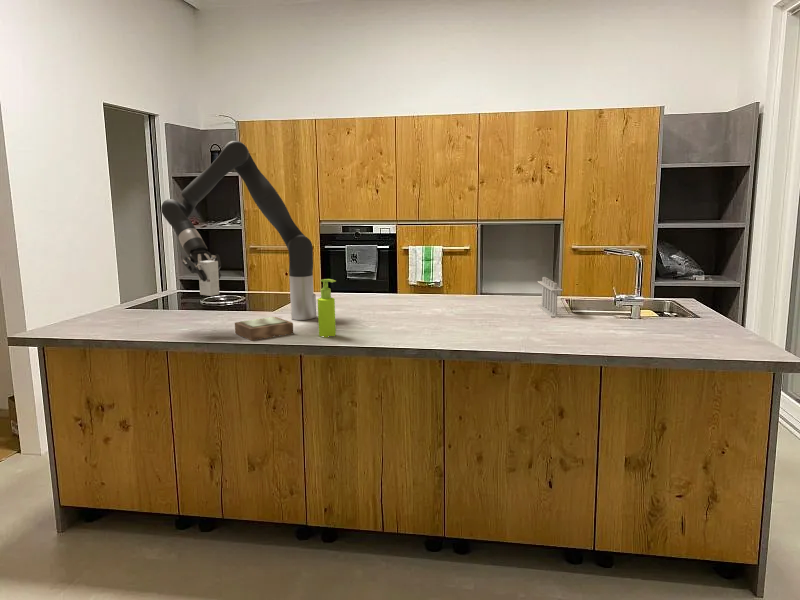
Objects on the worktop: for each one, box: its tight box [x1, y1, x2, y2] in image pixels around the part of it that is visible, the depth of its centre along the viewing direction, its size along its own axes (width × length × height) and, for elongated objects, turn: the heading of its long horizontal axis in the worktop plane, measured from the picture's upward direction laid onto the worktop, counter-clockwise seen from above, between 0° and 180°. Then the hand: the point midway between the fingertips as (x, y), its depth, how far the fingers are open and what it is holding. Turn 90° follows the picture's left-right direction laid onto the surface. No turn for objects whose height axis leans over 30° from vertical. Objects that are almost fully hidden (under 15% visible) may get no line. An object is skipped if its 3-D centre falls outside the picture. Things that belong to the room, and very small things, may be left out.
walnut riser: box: [234, 316, 294, 341], centre depth 220 cm, size 16×14×4 cm
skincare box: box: [198, 260, 220, 297], centre depth 220 cm, size 6×4×12 cm
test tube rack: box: [536, 276, 564, 319], centre depth 252 cm, size 25×4×13 cm, turn 0°
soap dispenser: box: [317, 278, 337, 338], centre depth 214 cm, size 6×7×20 cm
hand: (212, 278), depth 219 cm, fingers closed on skincare box, 4 cm apart
